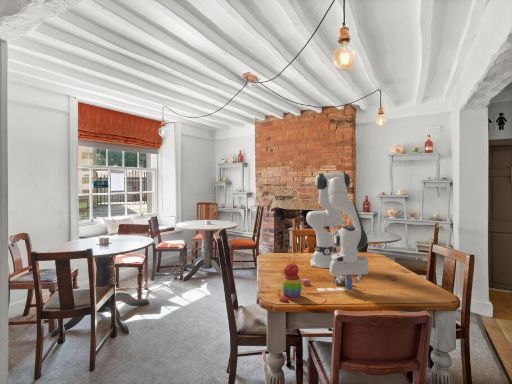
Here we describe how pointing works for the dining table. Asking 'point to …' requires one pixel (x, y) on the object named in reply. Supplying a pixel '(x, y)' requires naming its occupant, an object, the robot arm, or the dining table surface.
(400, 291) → the dining table surface
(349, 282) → the pawn
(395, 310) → the dining table surface
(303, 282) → the die
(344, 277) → the popper box
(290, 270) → the stacking bear
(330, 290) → the track
